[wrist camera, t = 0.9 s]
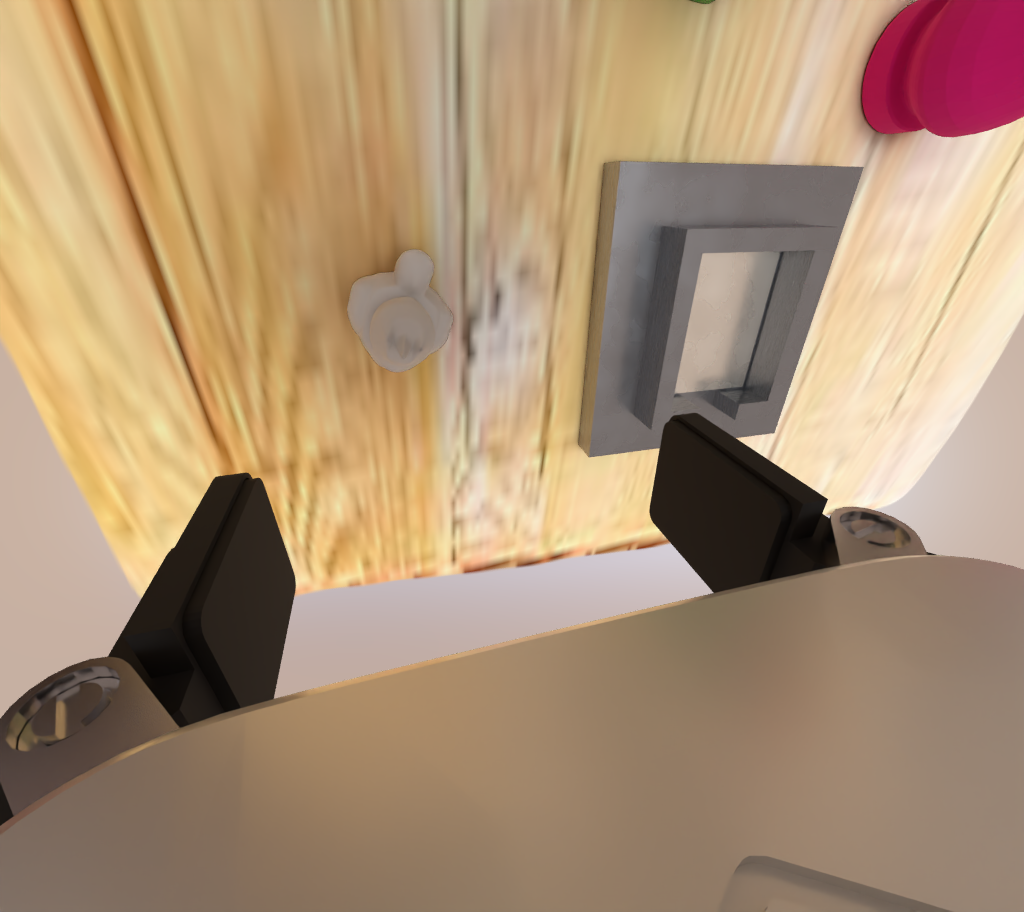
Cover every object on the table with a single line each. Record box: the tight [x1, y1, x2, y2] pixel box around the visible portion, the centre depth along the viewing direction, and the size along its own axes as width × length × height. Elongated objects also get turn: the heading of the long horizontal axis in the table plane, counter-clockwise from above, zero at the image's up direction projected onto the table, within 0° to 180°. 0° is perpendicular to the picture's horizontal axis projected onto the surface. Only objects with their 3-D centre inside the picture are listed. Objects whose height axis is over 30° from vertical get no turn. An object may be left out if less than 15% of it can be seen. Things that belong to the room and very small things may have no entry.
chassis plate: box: [579, 161, 864, 457], centre depth 30 cm, size 18×16×4 cm
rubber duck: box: [347, 249, 453, 372], centre depth 23 cm, size 5×7×8 cm
